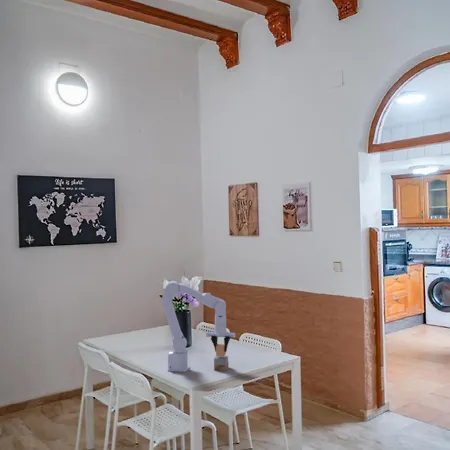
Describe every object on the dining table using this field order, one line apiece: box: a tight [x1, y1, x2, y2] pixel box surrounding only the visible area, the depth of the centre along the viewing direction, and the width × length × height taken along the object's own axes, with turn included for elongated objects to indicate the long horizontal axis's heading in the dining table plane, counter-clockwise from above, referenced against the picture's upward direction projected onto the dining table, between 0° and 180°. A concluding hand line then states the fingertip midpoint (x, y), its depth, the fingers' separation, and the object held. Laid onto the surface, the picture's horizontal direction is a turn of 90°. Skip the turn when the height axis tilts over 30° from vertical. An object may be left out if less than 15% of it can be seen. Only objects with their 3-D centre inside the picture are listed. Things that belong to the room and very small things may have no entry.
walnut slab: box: [213, 362, 229, 372], centre depth 243 cm, size 6×6×3 cm
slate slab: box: [213, 355, 229, 366], centre depth 243 cm, size 6×6×3 cm
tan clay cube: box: [215, 343, 227, 357], centre depth 243 cm, size 4×4×5 cm
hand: (220, 351), depth 243 cm, fingers open, 4 cm apart
